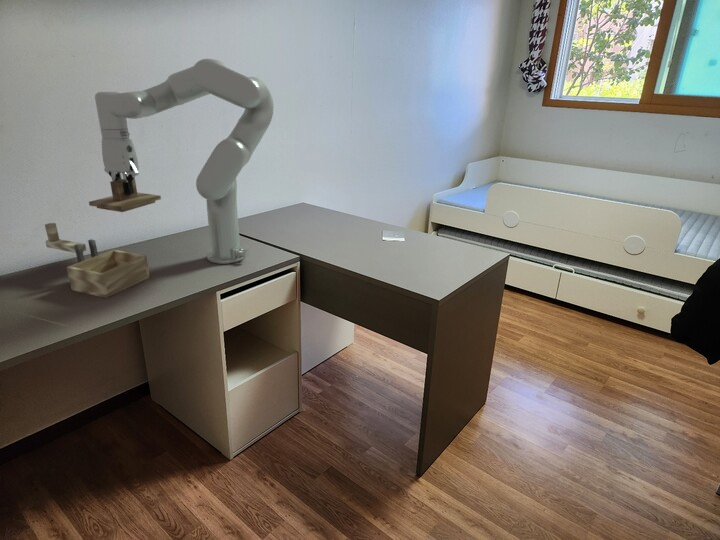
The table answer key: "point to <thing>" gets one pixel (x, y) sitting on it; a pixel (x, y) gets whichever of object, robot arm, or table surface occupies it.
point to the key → (59, 240)
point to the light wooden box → (106, 271)
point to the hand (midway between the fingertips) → (124, 193)
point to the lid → (124, 198)
